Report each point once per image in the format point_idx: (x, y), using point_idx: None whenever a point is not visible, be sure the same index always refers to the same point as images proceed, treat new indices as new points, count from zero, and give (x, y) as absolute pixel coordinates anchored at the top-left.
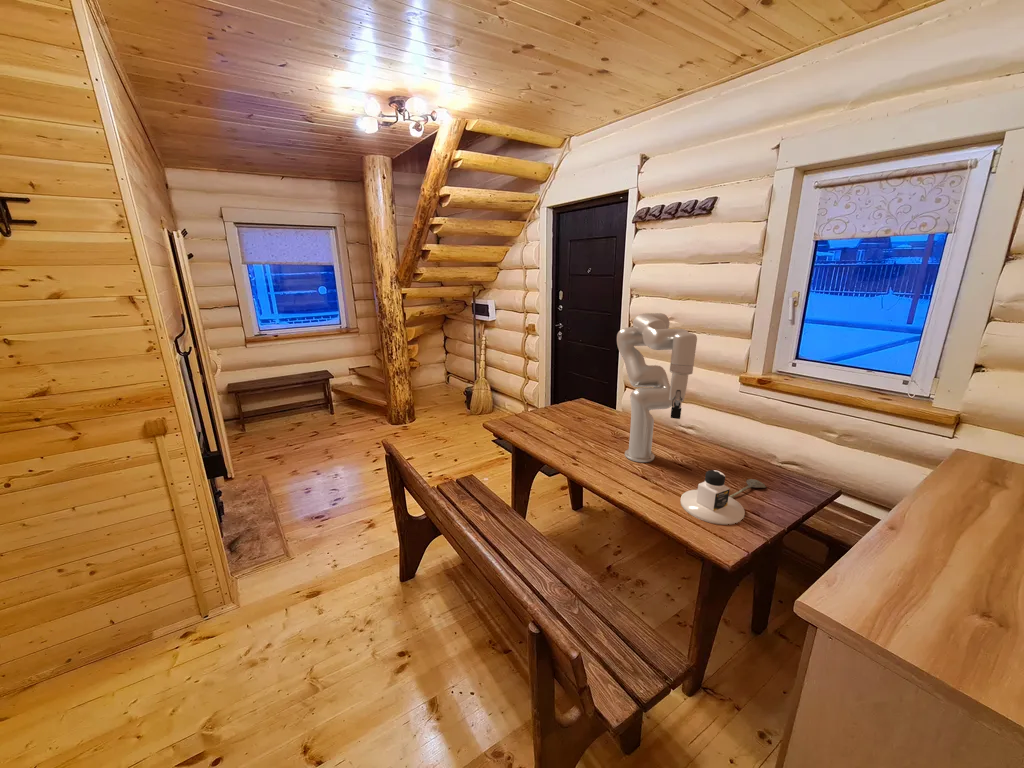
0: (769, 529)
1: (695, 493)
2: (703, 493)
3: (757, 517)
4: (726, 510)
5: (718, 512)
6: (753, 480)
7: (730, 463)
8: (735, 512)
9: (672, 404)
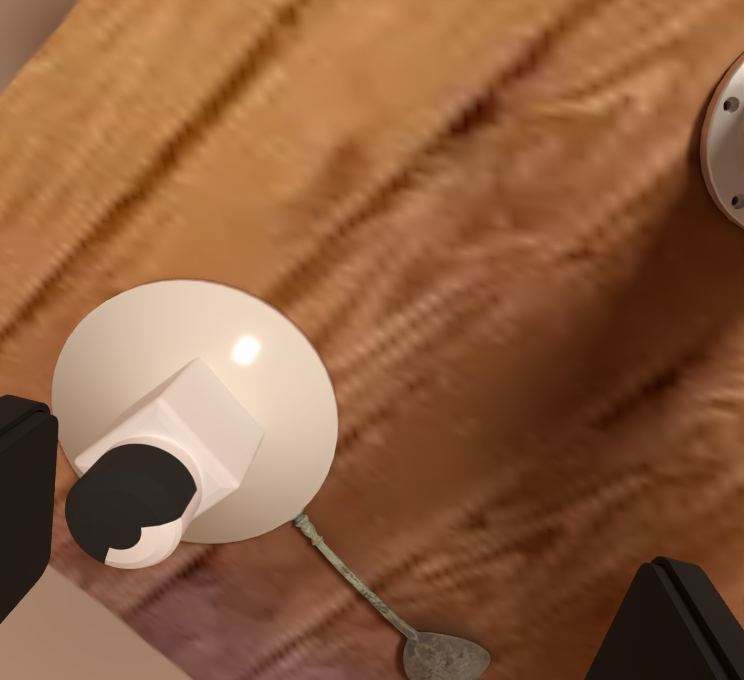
0: (88, 575)
1: (287, 375)
2: (143, 403)
3: (166, 567)
4: None
5: None
6: (446, 667)
7: None
8: None
9: (695, 652)
